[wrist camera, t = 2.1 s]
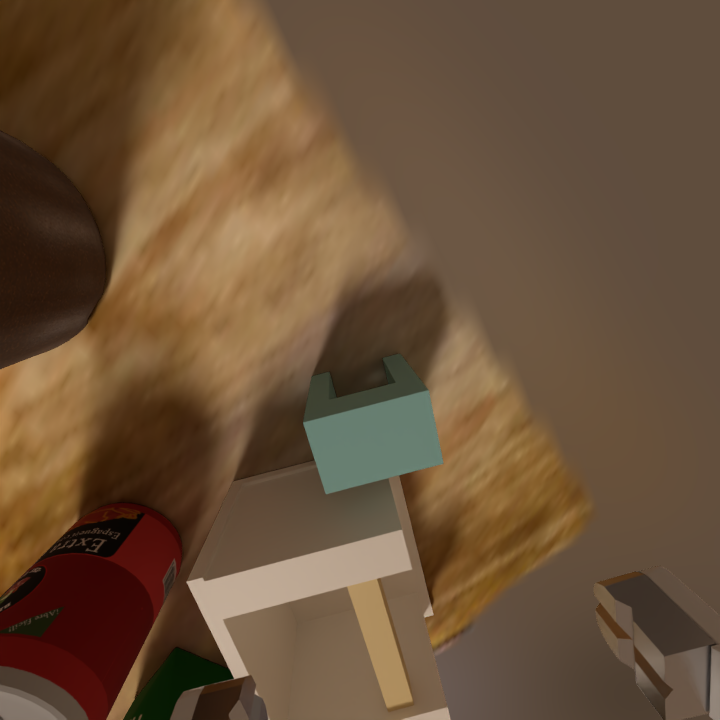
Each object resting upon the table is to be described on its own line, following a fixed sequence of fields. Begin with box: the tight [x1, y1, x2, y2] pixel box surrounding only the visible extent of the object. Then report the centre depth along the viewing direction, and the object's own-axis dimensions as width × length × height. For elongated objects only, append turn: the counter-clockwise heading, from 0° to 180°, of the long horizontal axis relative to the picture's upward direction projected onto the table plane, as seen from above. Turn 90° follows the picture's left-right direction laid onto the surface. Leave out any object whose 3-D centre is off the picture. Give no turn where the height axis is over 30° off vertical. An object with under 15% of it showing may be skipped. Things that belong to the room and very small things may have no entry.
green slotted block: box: [303, 354, 443, 494], centre depth 20 cm, size 4×6×7 cm, turn 104°
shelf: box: [187, 460, 451, 720], centre depth 23 cm, size 16×11×8 cm
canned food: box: [0, 503, 182, 720], centre depth 20 cm, size 8×8×11 cm
